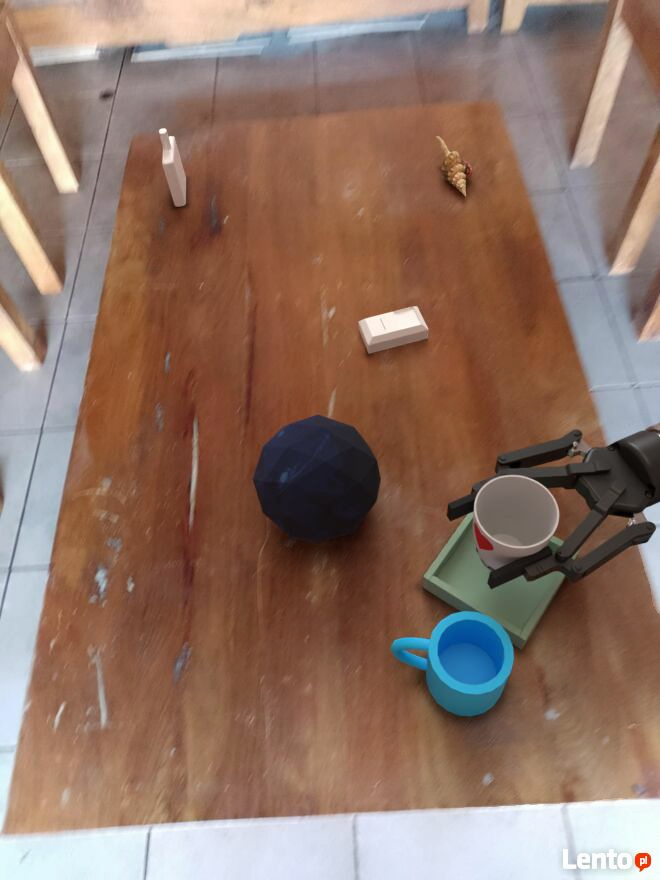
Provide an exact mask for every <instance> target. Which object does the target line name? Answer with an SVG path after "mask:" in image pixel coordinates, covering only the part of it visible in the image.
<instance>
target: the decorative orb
mask: <svg viewBox="0 0 660 880" xmlns="http://www.w3.org/2000/svg"><path fill="white" fill-rule="evenodd" d="M381 480H382V477H381V472H380V469H379V463H378V460H377V457H376V456H375V454H374V451H373V450H372V448H371V446H370V445H369V443H368V442H367V441H366V439H365V438H364V437H363V436H362V435H361V434H360V432H359V431H358V430H357V429H356V427H355V426H353V425H350V424H347V423H344V422H341V421H338V420H335V419H333V418H330V417H327V416H324V415H321V414H315V415H311V416H308V417H305V418H303V419H300V420H297V421H294V422H290V423H288V424H285V425H284V426H282V427H281V428H279V430H278V431H277V432H276V433H275V434H274V435H273V436H272V437H271V438H270V439H269V440H268V441H267V442H266V443H265V444H264V445H263V446H262V448H261V451H260V455H259V458H258V461H257V463H256V466H255V471H254V474H253V477H252V481H253V484H254V489H255V492H256V495H257V498H258V502H259V505H260V508H261V513H262V514H264V515H265V516H266V517H267V518H268V519H269V520H270V521H271V522H272V523H274V524H275V525H276V526H277V527H278V528H279V529H281V531H282V532H283V533H285V534H286V535H287V536H288V537H290V538H294V539H296V540H297V539H298V540H302V541H306V542H309V543H315V544H319V543H323V542H327V541H331V540H334V539H337V538H341V537H344V536H348V535H352V534H354V533H355V532H356V530H357V529H358V527H359V526H360V525H361V523H362V522H363V521H364V519H365V518H366V517H367V515H368V514H369V513H370V511H371V510H372V508H373V507H374V506H375V505H376V503H377V501H378V497H379V491H380V487H381V486H380V485H381Z"/></svg>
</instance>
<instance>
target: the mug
mask: <svg viewBox="0 0 660 880" xmlns="http://www.w3.org/2000/svg"><path fill="white" fill-rule="evenodd" d="M409 650H413V651H414V650H415V651H423V652H427V658H424V657H422V656H418V655H416V654H413V653H411V652H409ZM390 651H391V653H392V655H393V657H394V658H396V659H397V660H398V661H400V662H402V663H403V664H405V665H408V666H411V667H413V668H415V669H419V670H422V671H425V672H426V673H425V681H426V684H427V688H428V691H429V693H430V694H431V696H432V697H433V699H434V701H435V702H436V704H438V705H439V706H441V707H442V708H443V709H444V710H445V711H447V712H450V713H452V714H454V715H456V716H462V717H475V716H479V715H481V714H482V715H483V714H485V713H487V711H489V710H491V709H492V708H493V707H494V706H495V705H496V704H497V702H498V701H499V699H500V698H501V696H502V694H503V692H504V689H505V688H506V687H505V686H506V684H507V682H508V680H509V677H510V675H511V672H512V668H513V665H514V663H515V660H514V656H515V655H514V645H513V644H512V643H511V641H510V638H509V635H508V634H507V633H506V631H505V630H504V629H503V627H502V626H501V625H500V624H499V623H497V622H496V621H495V620H493V619H492V618H491V617H489V616H487V615H484V614H481V613H478V612H470V611H462V612H461V611H459V612H454V613H451V614H449V615H447V616H446V617H444V618H442V619H441V620H440V621H439V622H438V623H437V625H436V626H435V627H434V628H433V630H432V632H431V635H430V638H425V637H411V636H409V637H401V638H397V639H395V640H394V641H393V642H392V644H391V646H390Z"/></svg>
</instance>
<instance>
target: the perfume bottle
mask: <svg viewBox="0 0 660 880" xmlns="http://www.w3.org/2000/svg"><path fill="white" fill-rule="evenodd" d="M158 134H159V138H160V142H161V145H162V161H161V165H162V169H163V172H164V174H165V179H166V182H167V184H168V188H169V192H170V195H171V198H172V201H173V205H174V206H175V207H177V208H178V207H184V206H186V204H187V176H186V173H185V170H184V165H183V162H182V158H181V155H180V151H179V147H178V145H177V141H176V138H175V136H173V135H169V134H168V129H166V128H165V127H163V128H160V129H159V130H158Z"/></svg>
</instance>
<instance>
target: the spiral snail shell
mask: <svg viewBox="0 0 660 880" xmlns="http://www.w3.org/2000/svg"><path fill="white" fill-rule="evenodd" d="M435 138H436V140H437V141H438V143H439V145H440V148H441V150H442V153H443V155H444V159H443V161H442V163H441V173H440V174H441V176H443V177H444V180H448V182H449V184H452V185H453V187H454V188H456V189H457V190H459V192H461V193H462V195H463V196H464V197H467V192H466V190H467V189H466V187H467V186H466V184H467V180H468V179H470V178H471V176H472V174H473V170H474V167H473V166H472V165H471V163H470V161H469V160H468V159H465V158H464V157H463V156H460V154H459V152H458V151H456V150H453V151H450V150H449V148H448V146H447V144H446V143H445V140H443V138H441V137H440V136H438V135H436V136H435Z"/></svg>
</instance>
